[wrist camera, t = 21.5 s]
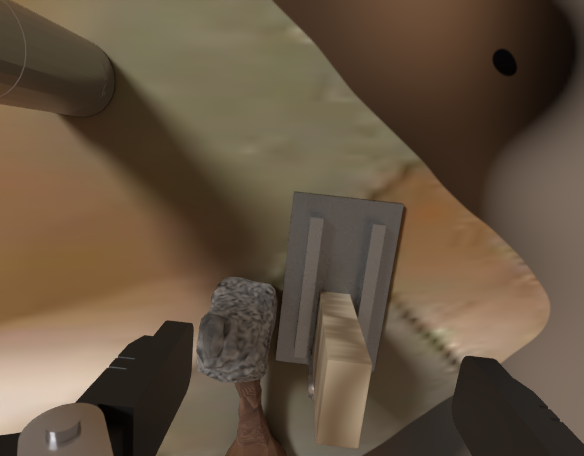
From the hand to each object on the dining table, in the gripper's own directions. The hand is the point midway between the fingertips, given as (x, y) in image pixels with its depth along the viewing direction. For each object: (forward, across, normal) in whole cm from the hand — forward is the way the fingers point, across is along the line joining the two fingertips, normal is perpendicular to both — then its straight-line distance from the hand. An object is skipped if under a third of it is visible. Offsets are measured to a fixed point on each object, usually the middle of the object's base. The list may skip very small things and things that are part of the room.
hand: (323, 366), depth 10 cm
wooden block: (+35, -5, +16) cm, 39 cm away
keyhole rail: (+36, -5, +11) cm, 38 cm away
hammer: (+36, +6, +25) cm, 45 cm away
